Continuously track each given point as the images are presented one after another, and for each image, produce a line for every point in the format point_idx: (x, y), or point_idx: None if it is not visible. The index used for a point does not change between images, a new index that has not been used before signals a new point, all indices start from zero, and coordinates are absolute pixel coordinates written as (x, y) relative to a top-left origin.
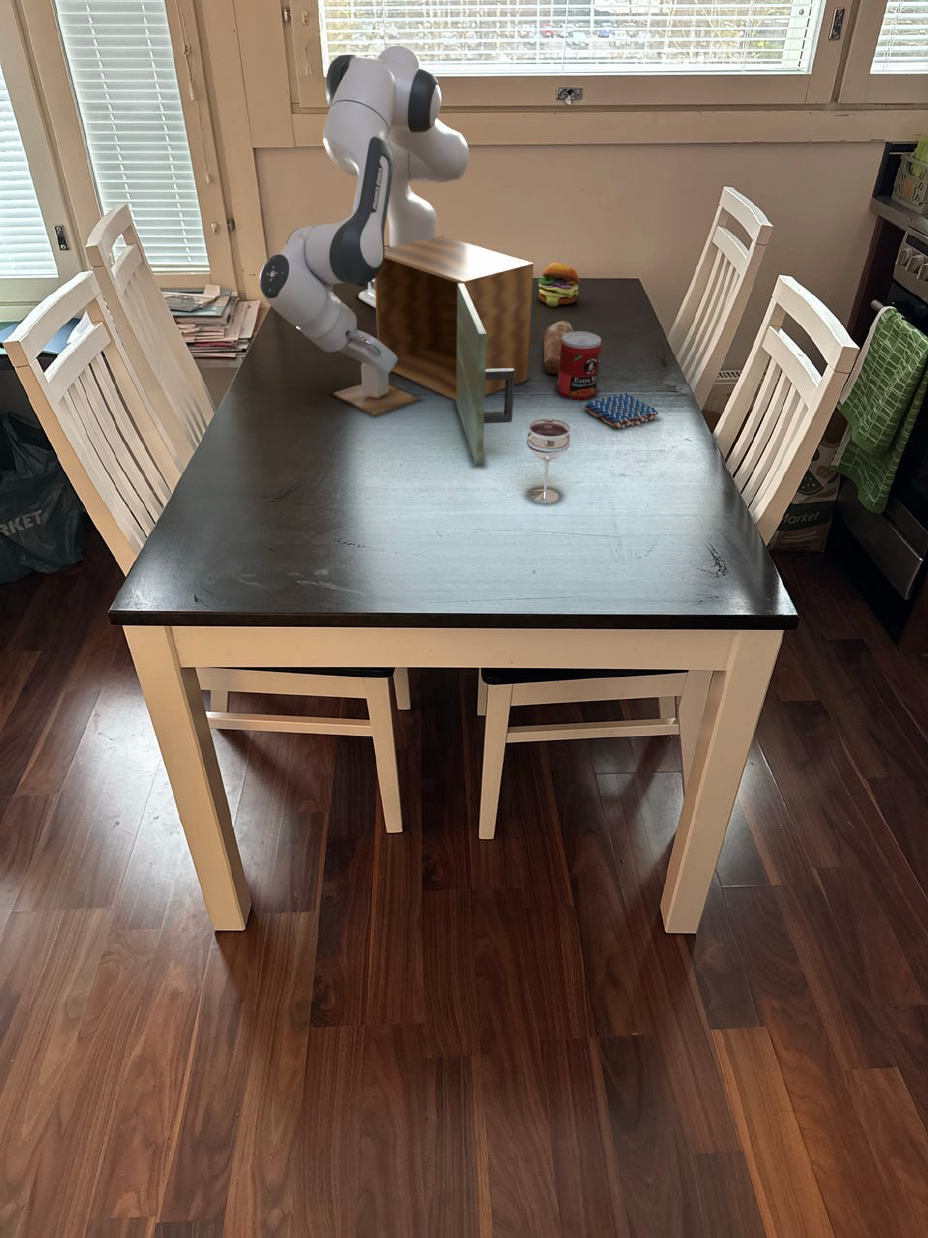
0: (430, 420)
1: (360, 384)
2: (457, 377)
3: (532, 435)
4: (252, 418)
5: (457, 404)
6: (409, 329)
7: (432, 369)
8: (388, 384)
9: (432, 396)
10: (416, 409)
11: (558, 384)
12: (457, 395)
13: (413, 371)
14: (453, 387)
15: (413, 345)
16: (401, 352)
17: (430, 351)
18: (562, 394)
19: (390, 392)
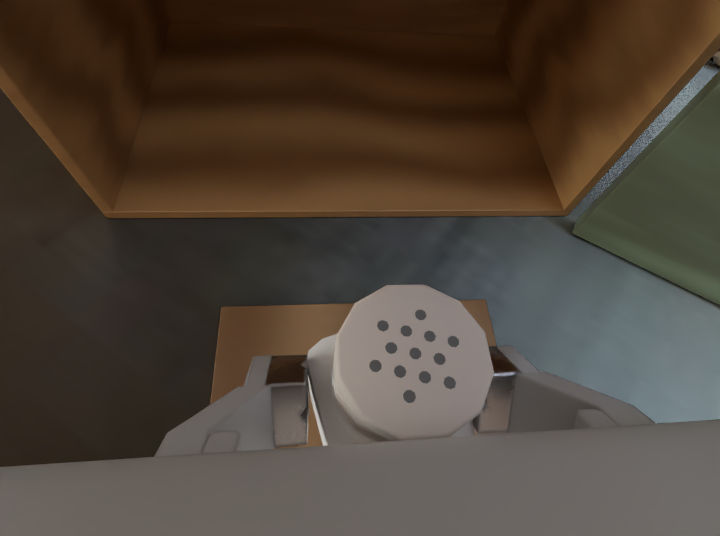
0: (664, 378)
1: (211, 401)
2: (678, 173)
3: None
4: None
5: (608, 241)
6: (102, 15)
7: (302, 132)
8: (300, 305)
9: (470, 247)
10: (550, 357)
11: None
12: (629, 221)
13: (270, 176)
14: (464, 170)
15: (137, 71)
16: (130, 119)
17: (183, 63)
18: None
19: None
